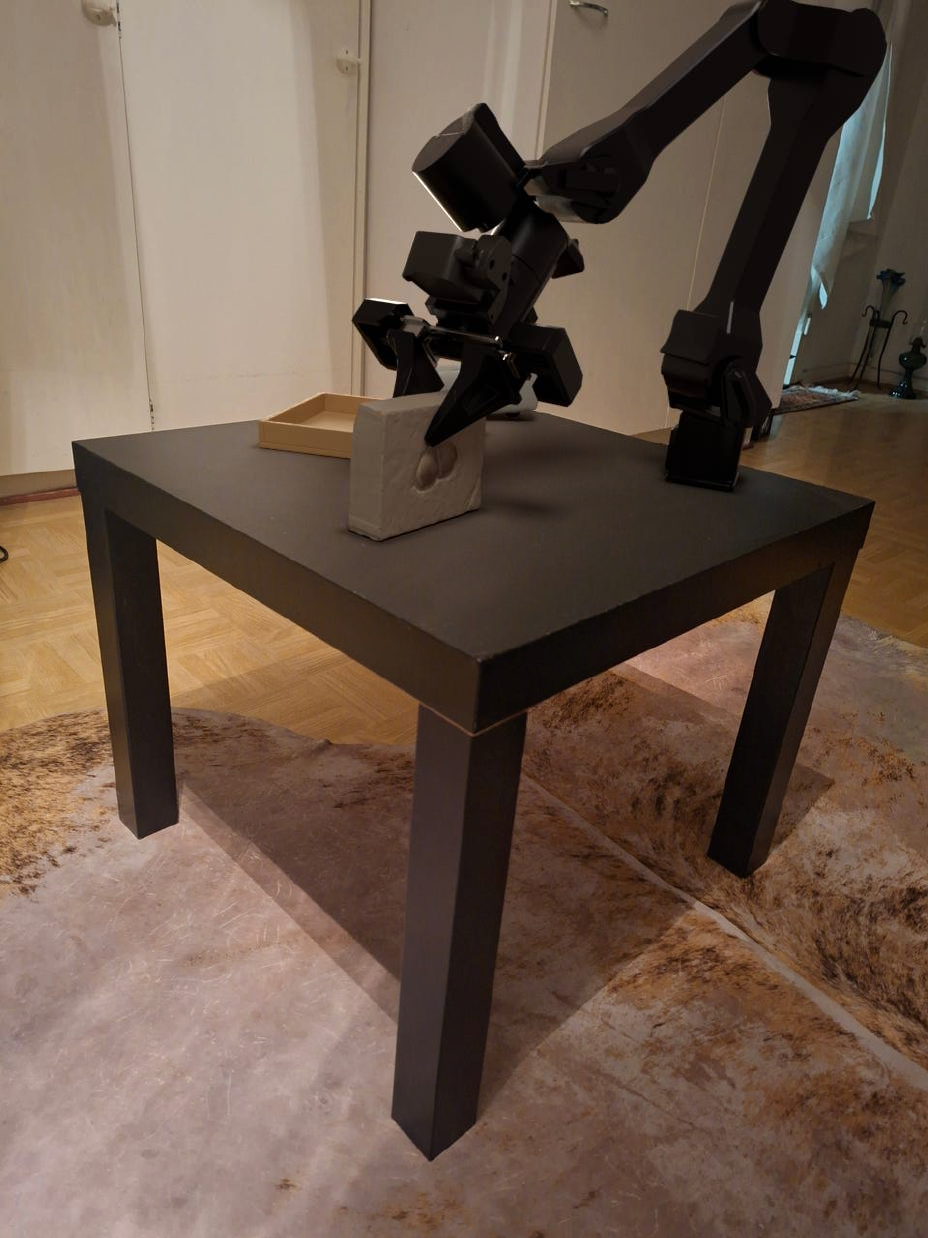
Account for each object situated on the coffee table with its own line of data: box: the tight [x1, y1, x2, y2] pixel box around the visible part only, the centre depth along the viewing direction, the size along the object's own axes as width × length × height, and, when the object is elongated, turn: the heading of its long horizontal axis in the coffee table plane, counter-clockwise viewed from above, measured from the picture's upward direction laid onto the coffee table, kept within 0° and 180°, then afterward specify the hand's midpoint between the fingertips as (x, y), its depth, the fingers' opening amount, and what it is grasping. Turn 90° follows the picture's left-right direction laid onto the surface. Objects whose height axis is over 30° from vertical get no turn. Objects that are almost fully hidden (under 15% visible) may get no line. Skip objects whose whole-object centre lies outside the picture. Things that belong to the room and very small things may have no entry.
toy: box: [435, 362, 539, 420], centre depth 101 cm, size 12×6×15 cm
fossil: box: [347, 390, 487, 542], centre depth 64 cm, size 12×4×10 cm, turn 141°
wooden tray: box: [257, 391, 385, 460], centre depth 88 cm, size 19×17×3 cm
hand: (408, 438), depth 62 cm, fingers closed on fossil, 3 cm apart
